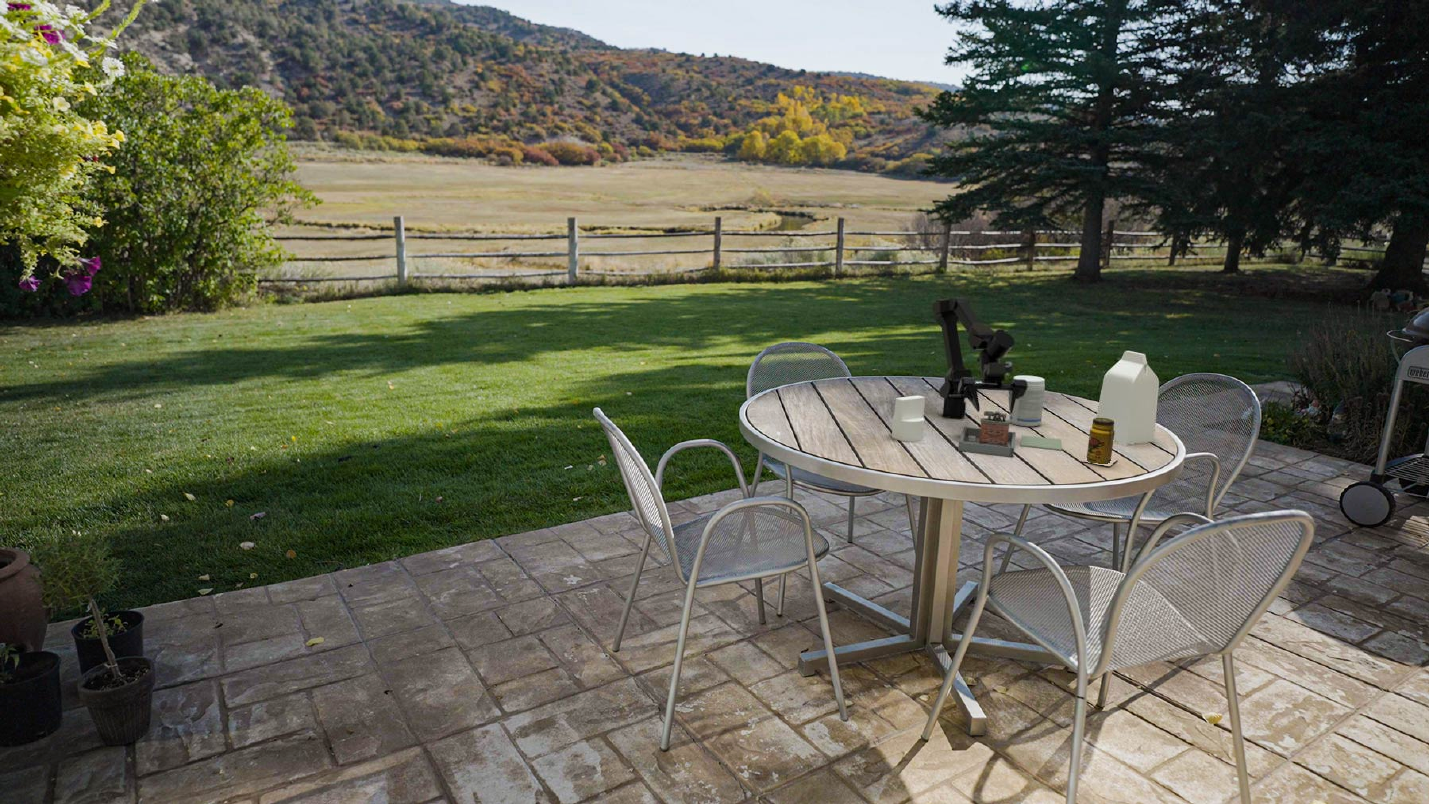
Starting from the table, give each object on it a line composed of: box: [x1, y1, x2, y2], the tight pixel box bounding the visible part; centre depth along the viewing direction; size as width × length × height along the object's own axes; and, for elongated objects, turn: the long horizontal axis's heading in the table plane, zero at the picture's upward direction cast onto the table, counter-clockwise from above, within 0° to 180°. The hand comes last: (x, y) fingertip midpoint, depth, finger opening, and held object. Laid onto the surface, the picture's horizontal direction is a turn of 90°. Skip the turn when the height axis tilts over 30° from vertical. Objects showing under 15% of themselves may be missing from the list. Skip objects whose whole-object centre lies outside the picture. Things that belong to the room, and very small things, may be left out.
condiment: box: [1086, 417, 1115, 464], centre depth 228 cm, size 7×8×12 cm
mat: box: [1020, 434, 1063, 452], centre depth 245 cm, size 11×11×1 cm
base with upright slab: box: [891, 395, 926, 443], centre depth 247 cm, size 9×9×12 cm
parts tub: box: [957, 426, 1017, 458], centre depth 242 cm, size 15×18×2 cm
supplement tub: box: [1008, 374, 1046, 428], centre depth 265 cm, size 10×10×15 cm
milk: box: [1095, 350, 1160, 445], centre depth 250 cm, size 12×12×26 cm
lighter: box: [977, 410, 1011, 447], centre depth 241 cm, size 8×3×10 cm, turn 71°
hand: (995, 411), depth 242 cm, fingers open, 9 cm apart
